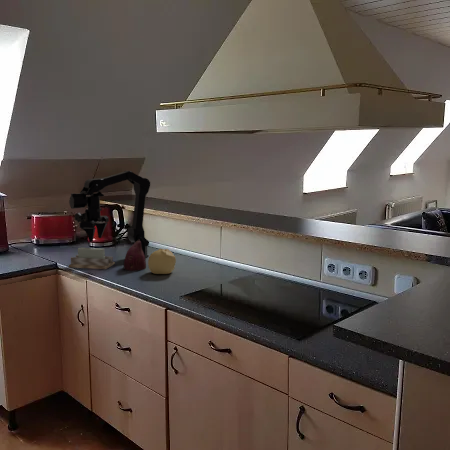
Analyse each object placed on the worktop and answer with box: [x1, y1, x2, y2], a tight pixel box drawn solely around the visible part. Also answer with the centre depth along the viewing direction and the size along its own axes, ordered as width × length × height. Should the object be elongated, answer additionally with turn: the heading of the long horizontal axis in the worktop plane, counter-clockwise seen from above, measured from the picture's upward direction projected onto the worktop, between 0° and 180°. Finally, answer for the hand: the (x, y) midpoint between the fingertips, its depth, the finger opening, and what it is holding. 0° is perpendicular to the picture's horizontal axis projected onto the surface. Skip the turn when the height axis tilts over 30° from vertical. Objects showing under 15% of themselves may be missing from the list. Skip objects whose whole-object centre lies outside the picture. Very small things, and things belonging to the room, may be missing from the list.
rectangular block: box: [77, 247, 106, 259], centre depth 223 cm, size 12×2×7 cm, turn 79°
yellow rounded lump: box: [147, 248, 177, 275], centre depth 210 cm, size 11×12×11 cm
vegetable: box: [123, 240, 147, 272], centre depth 218 cm, size 10×10×15 cm
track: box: [68, 254, 116, 270], centre depth 223 cm, size 18×10×4 cm, turn 79°
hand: (95, 239), depth 224 cm, fingers open, 9 cm apart
